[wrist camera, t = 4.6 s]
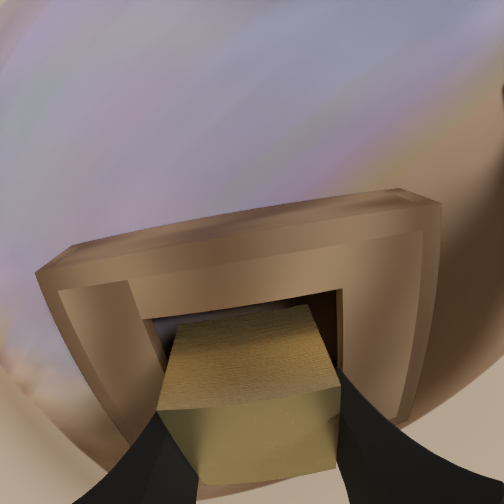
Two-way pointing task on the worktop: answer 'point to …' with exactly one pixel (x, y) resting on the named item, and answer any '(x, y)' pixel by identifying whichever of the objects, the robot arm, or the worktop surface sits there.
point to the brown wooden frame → (255, 291)
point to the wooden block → (252, 397)
